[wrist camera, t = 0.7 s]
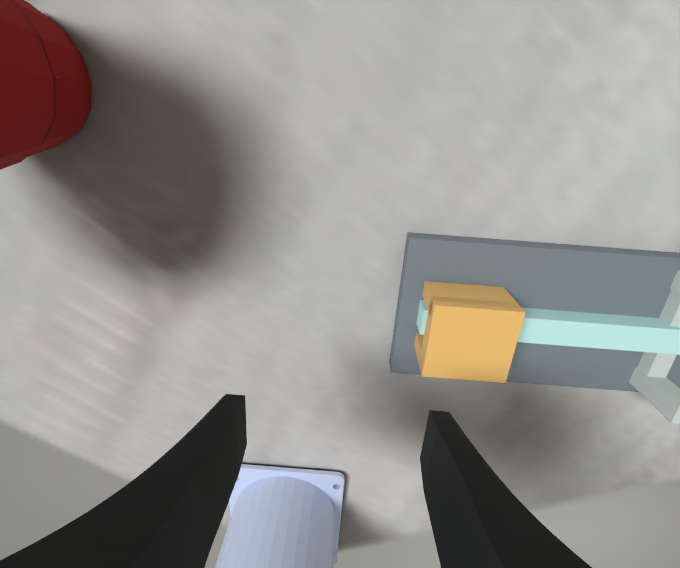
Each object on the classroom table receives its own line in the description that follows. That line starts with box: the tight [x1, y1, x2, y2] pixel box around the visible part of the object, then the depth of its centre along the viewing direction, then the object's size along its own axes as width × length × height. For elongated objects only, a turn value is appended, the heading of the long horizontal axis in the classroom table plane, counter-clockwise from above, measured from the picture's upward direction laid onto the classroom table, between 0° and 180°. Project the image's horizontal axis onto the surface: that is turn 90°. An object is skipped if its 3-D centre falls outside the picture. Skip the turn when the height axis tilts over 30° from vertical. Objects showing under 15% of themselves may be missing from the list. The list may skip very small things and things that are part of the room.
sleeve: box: [414, 281, 526, 383], centre depth 19 cm, size 4×4×3 cm
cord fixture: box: [389, 232, 680, 424], centre depth 20 cm, size 8×20×4 cm, turn 86°
